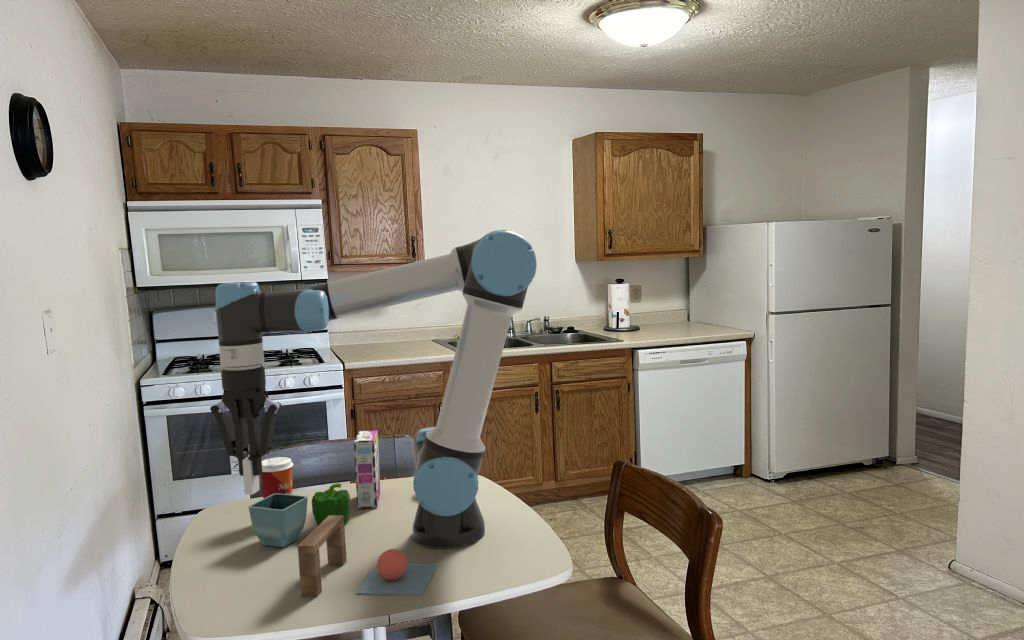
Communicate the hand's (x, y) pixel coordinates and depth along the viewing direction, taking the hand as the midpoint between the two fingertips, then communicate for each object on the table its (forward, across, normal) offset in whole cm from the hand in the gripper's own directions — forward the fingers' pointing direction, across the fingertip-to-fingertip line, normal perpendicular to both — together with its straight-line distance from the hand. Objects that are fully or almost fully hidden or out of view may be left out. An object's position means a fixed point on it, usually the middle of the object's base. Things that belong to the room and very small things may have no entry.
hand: (252, 492), depth 132 cm
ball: (+14, +26, 0) cm, 29 cm away
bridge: (+16, +13, 0) cm, 21 cm away
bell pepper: (+17, +5, +24) cm, 30 cm away
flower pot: (+17, -3, +16) cm, 23 cm away
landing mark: (+16, +27, 0) cm, 32 cm away
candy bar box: (+17, +8, +41) cm, 45 cm away
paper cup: (+17, -9, +28) cm, 34 cm away
